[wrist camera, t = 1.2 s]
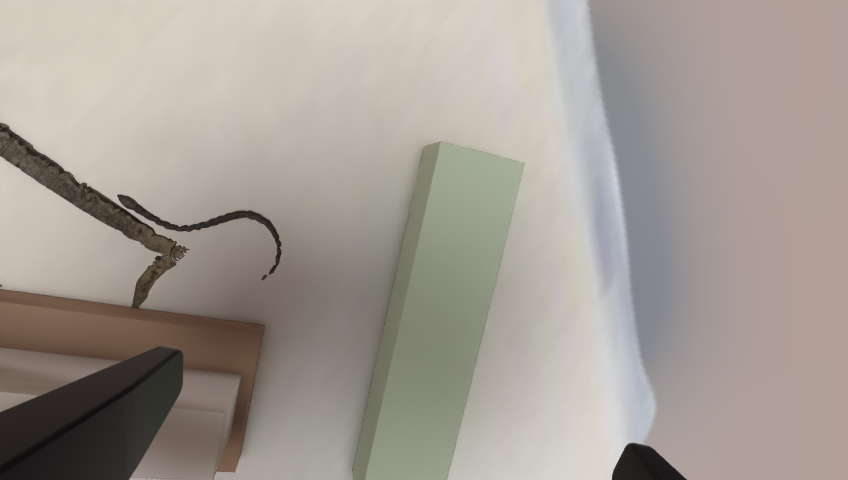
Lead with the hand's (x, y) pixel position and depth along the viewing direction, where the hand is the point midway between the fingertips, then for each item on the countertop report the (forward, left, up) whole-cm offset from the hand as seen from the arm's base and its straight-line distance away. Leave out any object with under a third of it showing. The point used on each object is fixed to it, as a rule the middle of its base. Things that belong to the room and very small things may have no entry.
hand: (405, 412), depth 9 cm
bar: (-2, -4, -15) cm, 16 cm away
